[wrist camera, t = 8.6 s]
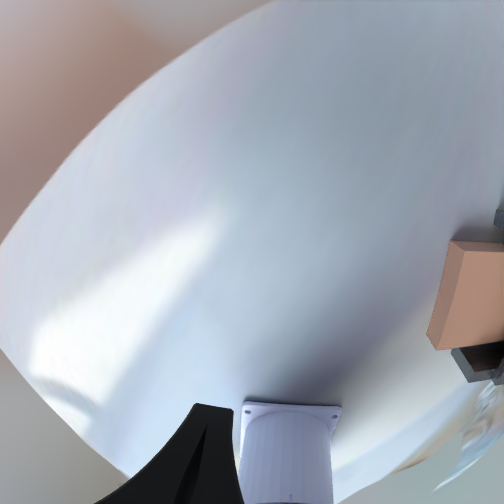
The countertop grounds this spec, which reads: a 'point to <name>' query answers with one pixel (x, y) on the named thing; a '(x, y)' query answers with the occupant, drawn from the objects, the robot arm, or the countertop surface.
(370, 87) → the countertop surface
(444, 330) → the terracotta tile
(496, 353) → the low gray notched block
